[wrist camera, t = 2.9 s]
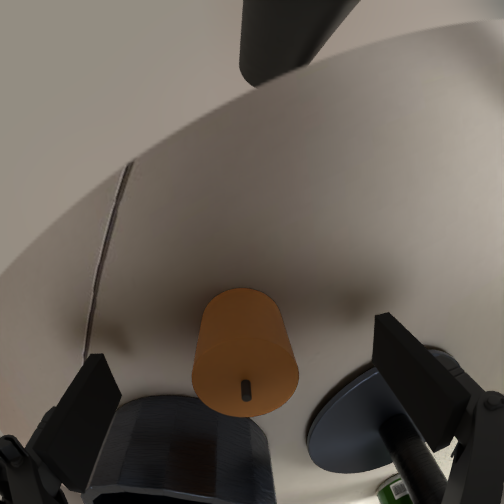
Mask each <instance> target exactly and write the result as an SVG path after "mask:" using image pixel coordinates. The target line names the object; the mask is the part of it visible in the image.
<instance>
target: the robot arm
mask: <svg viewBox="0 0 504 504" xmlns="http://www.w3.org/2000/svg"><path fill="white" fill-rule="evenodd" d="M372 363H373V364H374V365H375V367H376V368H377V370H378V371H379V373H380V374H381V375H382V377H383V378H384V380H385V381H386V383H387V384H388V386H389V387H390V388H391V390H392V391H393V393H394V394H395V396H396V397H397V399H398V400H399V402H400V403H401V405H402V406H403V408H404V409H405V410H406V412H407V413H408V415H409V416H410V418H411V419H412V421H413V422H414V424H415V425H416V427H417V428H418V430H419V431H420V433H421V434H422V436H423V438H424V439H425V441H426V442H427V444H428V445H429V447H430V448H431V450H432V451H433V453H435V452H437V451H439V450H441V449H443V448H445V447H447V446H449V445H450V443H451V441H452V439H453V437H454V436H455V437H456V438H457V440H458V443H457V445H456V447H455V449H454V451H453V452H452V454H451V457H452V458H453V456H454V459H453V463H452V467H451V471H450V475H449V479H448V483H447V486H446V490H445V493H444V496H443V499H442V502H441V504H500V503H501V497H502V491H503V485H504V395H502V394H501V393H499V392H495V391H487V392H485V391H484V390H483V389H482V388H481V387H480V386H479V385H478V384H477V383H476V382H475V381H474V380H473V379H472V378H471V377H470V376H469V375H468V374H467V373H465V372H464V370H463V369H462V368H461V367H459V365H458V364H457V363H456V362H455V361H453V360H452V359H451V358H449V357H447V356H445V355H442V354H441V355H439V356H436V357H434V356H433V355H432V354H431V353H430V352H429V351H428V350H427V349H426V348H425V347H424V346H423V345H422V344H421V343H420V342H419V341H418V340H417V339H416V338H415V337H414V336H413V335H412V334H411V333H410V332H409V331H408V330H407V329H406V328H405V327H404V326H403V325H402V324H401V323H400V322H399V321H398V320H397V319H396V318H395V317H393V316H392V315H391V314H390V313H389V312H387V313H383V314H379V315H375V325H374V342H373V355H372ZM121 397H122V394H121V392H120V390H119V388H118V386H117V384H116V382H115V380H114V377H113V375H112V373H111V371H110V368H109V366H108V364H107V361H106V359H105V356H104V354H103V353H100V354H90V356H89V357H88V358H87V360H86V361H85V363H84V364H83V366H82V367H81V369H80V370H79V372H78V373H77V375H76V376H75V378H74V380H73V381H72V383H71V384H70V386H69V387H68V389H67V390H66V392H65V394H64V395H63V397H62V398H61V400H60V401H59V403H58V405H57V406H56V407H54V406H53V407H52V408H51V409H50V410H49V411H48V412H46V414H45V415H44V417H43V418H42V420H41V422H40V423H39V425H38V426H37V429H36V430H35V431H34V433H33V435H32V436H31V438H30V440H29V442H28V443H27V445H26V447H25V448H24V447H23V446H22V445H21V443H20V442H19V441H18V440H17V438H16V437H14V436H13V435H4V436H2V437H1V438H0V495H1V496H2V500H0V504H68V502H67V499H66V497H65V495H64V493H63V491H62V490H61V489H60V486H61V484H62V483H63V484H64V485H65V486H66V487H67V488H68V489H69V490H70V491H74V492H78V493H82V494H84V493H85V491H86V488H87V485H88V482H89V479H90V476H91V473H92V471H93V468H94V465H95V462H96V460H97V457H98V454H99V452H100V449H101V446H102V444H103V441H104V439H105V436H106V434H107V431H108V428H109V426H110V423H111V421H112V419H113V416H114V414H115V411H116V409H117V406H118V404H119V401H120V399H121Z"/></svg>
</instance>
